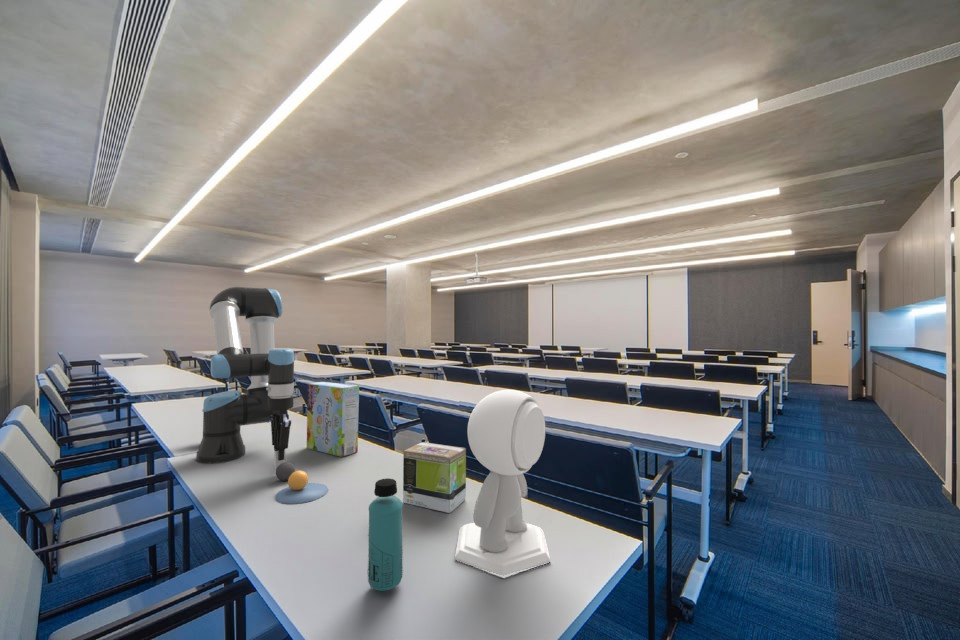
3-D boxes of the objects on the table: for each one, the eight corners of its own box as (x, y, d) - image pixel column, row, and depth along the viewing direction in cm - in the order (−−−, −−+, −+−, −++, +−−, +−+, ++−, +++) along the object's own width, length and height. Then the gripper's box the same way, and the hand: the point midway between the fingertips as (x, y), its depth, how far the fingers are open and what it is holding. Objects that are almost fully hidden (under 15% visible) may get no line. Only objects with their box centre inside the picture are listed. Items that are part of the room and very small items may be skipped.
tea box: (466, 499, 112) (467, 447, 112) (449, 515, 103) (449, 457, 103) (421, 489, 119) (422, 440, 119) (401, 503, 109) (402, 449, 110)
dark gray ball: (290, 462, 123) (292, 480, 122) (296, 459, 128) (298, 476, 127) (272, 465, 122) (273, 484, 121) (278, 462, 127) (279, 479, 127)
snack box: (359, 452, 153) (360, 385, 153) (341, 458, 145) (342, 388, 146) (323, 442, 164) (324, 380, 164) (304, 448, 157) (305, 382, 157)
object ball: (297, 463, 120) (304, 471, 116) (307, 475, 122) (314, 482, 118) (281, 478, 117) (288, 485, 113) (291, 489, 119) (298, 497, 116)
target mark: (295, 482, 123) (295, 481, 123) (337, 485, 121) (337, 484, 121) (263, 501, 109) (263, 501, 109) (310, 506, 107) (310, 505, 107)
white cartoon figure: (530, 590, 74) (531, 402, 75) (433, 551, 86) (435, 390, 87) (566, 541, 91) (568, 388, 91) (481, 515, 103) (483, 380, 104)
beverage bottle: (409, 581, 76) (410, 476, 76) (390, 604, 70) (391, 490, 70) (379, 574, 78) (381, 472, 79) (359, 595, 72) (360, 485, 72)
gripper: (261, 395, 131) (260, 466, 131) (274, 400, 122) (273, 478, 121) (285, 392, 136) (284, 461, 136) (300, 397, 127) (299, 471, 127)
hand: (279, 469), depth 129 cm, fingers closed
